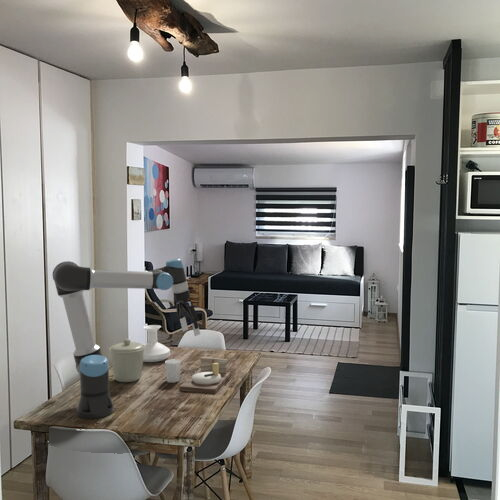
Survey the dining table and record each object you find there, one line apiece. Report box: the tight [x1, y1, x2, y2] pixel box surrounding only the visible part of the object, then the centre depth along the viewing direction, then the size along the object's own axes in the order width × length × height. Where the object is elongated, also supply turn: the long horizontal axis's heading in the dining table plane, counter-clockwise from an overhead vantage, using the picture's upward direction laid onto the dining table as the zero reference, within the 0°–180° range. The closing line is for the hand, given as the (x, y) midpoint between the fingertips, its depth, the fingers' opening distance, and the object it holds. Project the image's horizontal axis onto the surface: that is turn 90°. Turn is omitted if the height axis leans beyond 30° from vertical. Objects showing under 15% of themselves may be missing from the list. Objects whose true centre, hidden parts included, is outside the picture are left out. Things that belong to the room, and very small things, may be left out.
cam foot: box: [191, 363, 221, 385], centre depth 259 cm, size 14×14×8 cm
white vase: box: [142, 324, 171, 363], centre depth 304 cm, size 20×20×19 cm
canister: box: [108, 338, 145, 383], centre depth 268 cm, size 18×18×21 cm
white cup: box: [164, 358, 182, 384], centre depth 266 cm, size 8×8×10 cm
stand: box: [178, 356, 232, 394], centre depth 262 cm, size 27×18×9 cm, turn 166°
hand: (191, 332), depth 253 cm, fingers open, 13 cm apart
